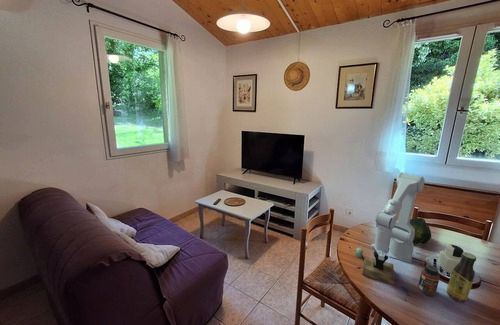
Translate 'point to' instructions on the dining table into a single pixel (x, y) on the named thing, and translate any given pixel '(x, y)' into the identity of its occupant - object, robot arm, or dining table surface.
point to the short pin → (359, 252)
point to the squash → (420, 231)
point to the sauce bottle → (462, 278)
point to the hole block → (378, 270)
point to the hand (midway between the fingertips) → (378, 264)
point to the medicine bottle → (450, 257)
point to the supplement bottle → (429, 280)
